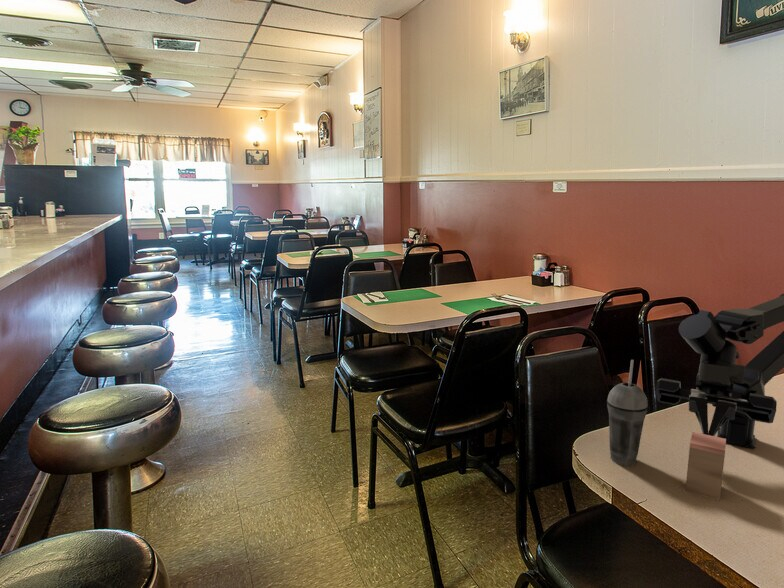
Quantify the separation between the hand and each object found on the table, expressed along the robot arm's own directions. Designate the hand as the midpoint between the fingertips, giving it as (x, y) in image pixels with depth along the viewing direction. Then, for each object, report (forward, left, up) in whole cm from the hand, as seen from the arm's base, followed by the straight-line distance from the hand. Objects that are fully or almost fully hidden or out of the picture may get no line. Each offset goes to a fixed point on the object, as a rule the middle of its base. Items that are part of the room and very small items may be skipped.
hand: (707, 441), depth 90 cm
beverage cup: (+2, -13, -7) cm, 15 cm away
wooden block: (+5, 0, -7) cm, 8 cm away
